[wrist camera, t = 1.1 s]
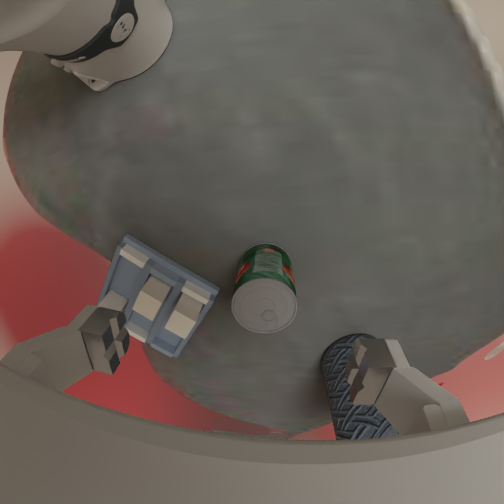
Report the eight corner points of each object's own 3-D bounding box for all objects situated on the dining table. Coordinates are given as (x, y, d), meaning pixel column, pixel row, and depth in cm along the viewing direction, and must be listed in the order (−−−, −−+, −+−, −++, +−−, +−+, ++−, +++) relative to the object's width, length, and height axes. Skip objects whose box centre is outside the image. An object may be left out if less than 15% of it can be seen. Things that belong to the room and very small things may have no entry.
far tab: (105, 304, 49) (90, 323, 43) (111, 289, 47) (95, 308, 42) (121, 314, 49) (108, 335, 44) (128, 299, 48) (113, 319, 42)
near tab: (174, 305, 48) (164, 327, 42) (184, 288, 46) (174, 309, 41) (193, 316, 48) (185, 339, 43) (204, 299, 47) (196, 322, 41)
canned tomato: (231, 252, 45) (219, 291, 35) (281, 234, 43) (284, 269, 33) (251, 295, 47) (246, 340, 37) (299, 280, 46) (306, 323, 36)
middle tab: (145, 289, 47) (132, 309, 41) (154, 270, 45) (140, 290, 40) (164, 299, 47) (152, 321, 42) (173, 282, 46) (162, 302, 40)
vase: (374, 375, 54) (409, 496, 28) (317, 380, 55) (332, 511, 29) (389, 329, 49) (444, 462, 23) (324, 333, 50) (352, 483, 24)
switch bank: (100, 306, 51) (92, 315, 48) (127, 233, 44) (118, 240, 41) (177, 351, 53) (173, 362, 50) (220, 287, 47) (216, 298, 44)
